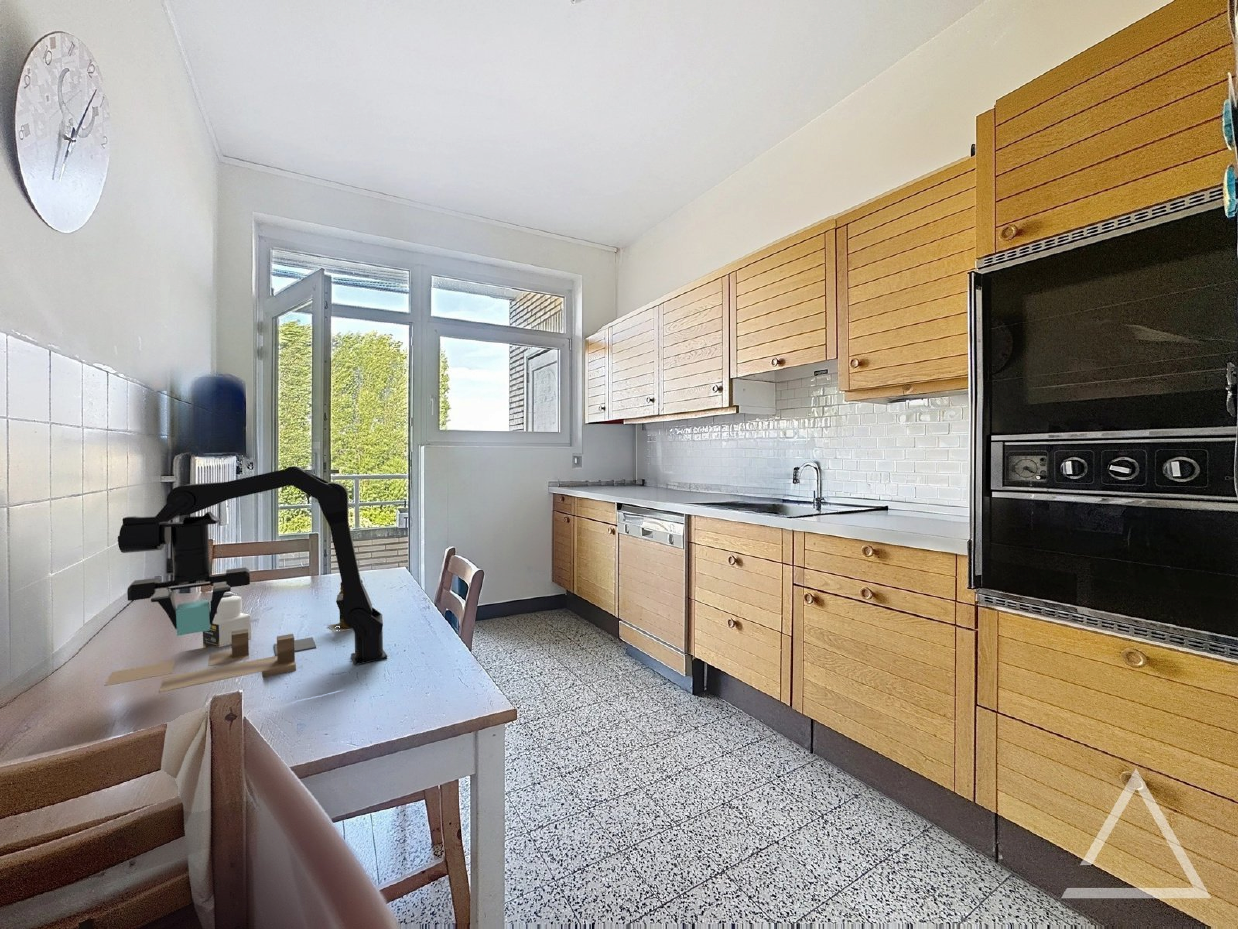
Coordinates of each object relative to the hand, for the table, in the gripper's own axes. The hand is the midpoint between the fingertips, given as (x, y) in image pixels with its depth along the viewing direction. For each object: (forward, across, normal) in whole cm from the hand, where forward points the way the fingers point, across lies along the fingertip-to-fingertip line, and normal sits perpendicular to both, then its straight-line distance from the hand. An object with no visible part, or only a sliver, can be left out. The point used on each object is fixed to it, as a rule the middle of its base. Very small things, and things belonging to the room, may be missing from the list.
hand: (194, 626), depth 108 cm
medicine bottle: (+12, -5, -22) cm, 26 cm away
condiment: (+12, -31, -21) cm, 39 cm away
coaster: (+12, -18, -11) cm, 24 cm away
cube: (+1, 0, 0) cm, 1 cm away
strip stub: (+12, -5, -9) cm, 16 cm away
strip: (+12, -6, +1) cm, 13 cm away
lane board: (+12, +7, -5) cm, 14 cm away
